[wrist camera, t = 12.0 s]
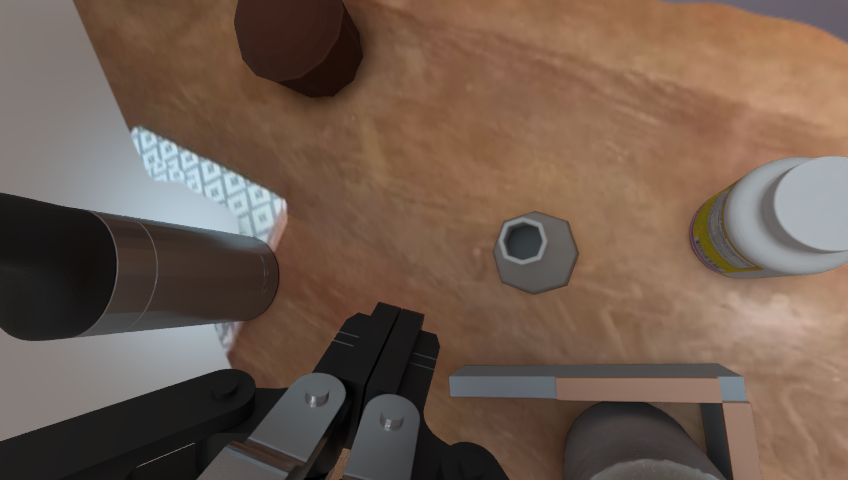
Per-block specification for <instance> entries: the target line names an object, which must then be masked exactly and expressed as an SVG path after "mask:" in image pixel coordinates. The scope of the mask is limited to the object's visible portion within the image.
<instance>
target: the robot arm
mask: <svg viewBox="0 0 848 480" xmlns="http://www.w3.org/2000/svg"><path fill="white" fill-rule="evenodd" d="M277 285H278V266H277V263H276V259H275V257H274V255H273V253H272V251H271V249H270V248H269V247H268V246H267V245H266V244H265V243H264V242H262V241H261V240H259V239H257V238H254V237H250V236H244V235H238V234H232V233H226V232H221V231H215V230H208V229H202V228H196V227H189V226H184V225H178V224H171V223H165V222H159V221H153V220H147V219H140V218H134V217H128V216H121V215H114V214H108V213H102V212H96V211H90V210H83V209H77V208H70V207H65V206H60V205H55V204H51V203H46V202H42V201H37V200H33V199H29V198H25V197H19V196H15V195H10V194H5V193H0V328H1V329H3V330H4V331H5V332H6V333H8V334H9V335H11V336H13V337H15V338H18V339H21V340H27V341H44V340H55V339H65V338H75V337H85V336H95V335H105V334H113V333H123V332H134V331H143V330H154V329H163V328H174V327H184V326H193V325H203V324H216V323H226V322H236V321H246V320H250V319H253V318H255V317H257V316H258V315H260V314H261V313H262V312H263V311H265V310H266V309H267V307H268V306H269V305H270V303H271V302H272V300H273V297H274V295H275V293H276V289H277ZM424 316H425V314H421V313H418V312H414V311H411V310H407V309H402V310H401V308H400V307H396V306H392V305H389V304H385V303H382V302H378V304H377V306H376V307H375V309H374V311H373V313H372V314H371V316H369V315H365V314H362V313H357V314H355V315H354V316H352V317H350V318H349V319H347V320H346V321H345V323H344V324H343V326H342V327H341V329H340V330H339V333H338V334H337V335H336V337H335V338H334V340H333V341H332V343H331V344H330V346H329V347H328V349H327V350H326V352H325V354H324V355H323V357H322V358H321V360H320V361H319V363H318V364H317V366H316V367H315V369H314V371H313V372H312V373H311V374H307V375H304V376H302V377H300V378H298V379H297V380H296V381H295V382H294V383H293V384H292V385H291V386H290V387H288V388H282V389H270V388H256V386H255V381H254V379H253V378H252V377H251V376H250V375H249V374H248V373H246V372H244V371H241V370H237V369H223V370H218V371H214V372H211V373H208V374H205V375H202V376H199V377H196V378H193V379H190V380H187V381H184V382H181V383H178V384H175V385H172V386H168V387H165V388H163V389H160V390H156V391H153V392H150V393H147V394H144V395H141V396H138V397H135V398H132V399H129V400H126V401H123V402H120V403H116V404H113V405H110V406H107V407H104V408H101V409H98V410H95V411H92V412H89V413H86V414H83V415H80V416H77V417H74V418H71V419H68V420H64V421H61V422H58V423H56V424H52V425H49V426H46V427H43V428H40V429H37V430H34V431H31V432H28V433H25V434H22V435H19V436H15V437H12V438H10V439H6V440H3V441H0V480H330V479H331V477H332V475H333V473H334V468H335V465H336V463H337V461H338V459H339V456H340V454H341V452H342V450H343V448H346V449H350V450H351V452H350V455H349V458H348V461H347V465H346V468H345V471H344V474H343V476H342V479H339V480H509V478H508V477H507V475H506V474H505V472H504V471H503V469H502V468H501V466H500V465H499V463H498V462H497V460H496V459H495V457H494V456H493V455H492V454H491V453H490V452H489V451H488V450H486V449H485V448H483V447H482V446H480V445H477V444H475V443H471V442H459V443H455V444H453V445H451V446H450V445H448V444H447V443H445V442H444V441H442V440H440V439H439V438H438V437H436V436H435V435H434V434H433V433H432V432H431V430H430V429H429V428H428V426H427V424H426V422H425V420H424V413H423V411H424V406H425V402H426V399H427V395H428V391H429V387H430V384H431V380H432V376H433V372H434V368H435V364H436V361H437V357H438V353H439V349H440V345H439V342H438V338H437V335H436V334H432V333H429V332H425V331H422V330H421V329H422V325H423V321H424ZM192 443H194V444H192ZM190 444H192V445H190ZM187 445H190V446H187ZM185 446H187V447H185ZM182 447H185V448H182ZM180 448H182V449H180ZM178 449H180V450H178ZM175 450H178V451H175ZM173 451H175V452H173ZM170 452H173V453H170ZM168 453H170V454H168ZM166 454H168V455H166ZM163 455H166V456H163ZM161 456H163V457H161ZM158 457H161V458H159V459H156V458H158ZM154 459H156V460H154ZM151 460H154V461H152V462H149V461H151ZM146 462H149V463H147V464H145V465H142V466H139V465H141V464H144V463H146ZM138 466H139V467H138ZM136 467H137V468H136Z"/></svg>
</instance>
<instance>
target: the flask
mask: <svg viewBox="0 0 848 480" xmlns="http://www.w3.org/2000/svg"><path fill="white" fill-rule="evenodd" d="M493 254H494V258H495V261H496V265H497V268H498V271H499V275H500V278H501V281H502V283H505V284H507V285H510V286H512V287H515V288H518V289H520V290H523V291H525V292H528V293H531V294H533V295H534V294H537V293H541V292H545V291H548V290H552V289H556V288H560V287H563V286H567V284H568V281H569V279H570V276H571V273H572V271H573V268H574V265H575V263H576V260H577V257H578V254H579V252H578V249H577V246H576V243H575V241H574V238H573V235H572V232H571V229H570V226H569V223H568V221H565V220H562V219H559V218H556V217H553V216H549V215H546V214H543V213H540V212H537V211H534V212H531V213H528V214H525V215H522V216H519V217H515V218H512V219H509V220H506V221H504V222H503V225H502V227H501V230H500V233H499V235H498V238H497V241H496V244H495V246H494V249H493Z"/></svg>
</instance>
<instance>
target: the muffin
mask: <svg viewBox="0 0 848 480" xmlns="http://www.w3.org/2000/svg"><path fill="white" fill-rule="evenodd" d="M234 25H235V30H236V35H237V39H238V43H239V48H240V51H241V54H242V59H243V60H244V61H245V63H246V64H247V65H248V66H249V67H250V69H251V70H252V71H253V72H254V73H255V75H256V76H259V77H262V78H265V79H268V80H272V81H274V82H277V83H279V84H281V85H283V86H286V87H288V88H290V89H293V90H295V91H297V92H300V93H302V94H304V95H306V96H309V97H317V96H334V95H335V94H336V93H337V92H338V91H339V90H341V89H342V88H343V87H344V86H346V85H347V84H349V83H350V82H352V81H353V80H354V77H355V74H356V71H357V68H358V66H359V64H360V62H361V60H362V58H363V54H362V50H361V47H360V40H359V32H358V31H357V29H356V27H355V25H354V23H353V21H352V19H351V17H350V15H349V14H348V12H347V10H346V8H345V6H344V4H343V2H342V0H239V1H238V4H237V9H236V14H235V19H234Z"/></svg>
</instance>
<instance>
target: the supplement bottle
mask: <svg viewBox="0 0 848 480" xmlns="http://www.w3.org/2000/svg"><path fill="white" fill-rule="evenodd" d="M690 238H691V243H692V246H693V249H694V251H695V253H696V254H697V256H698V257H699V258H700V260H701V261H702V262H703V263H704V264H705V265H707V266H708V267H709V268H711V269H712V270H714V271H716V272H718V273H720V274H722V275H725V276H729V277H734V278H765V277H779V276H794V275H809V274H817V273H822V272H826V271H829V270H832V269H835V268H837V267H839V266H841V265H843V264H845V263H847V262H848V158H847V157H839V156H828V157H819V158H806V157H793V158H785V159H780V160H776V161H772V162H769V163H767V164H764V165H762V166H760V167H758V168H756V169H754V170H753V171H751V172H750V173H748V174H747V175H745V176H744V177H742V178H741V179H739V180H738V181H736V182H735V183H733V184H732V185H730V186H729V187H727V188H726V189H724V190H723V191H721V192H720V193H718V194H717V195H716V196H714V197H713V198H711V199H710V200H708V201H707V202H706V203H705V204H703V205H702V206H701V208H700V209H699V210H698V211H697V213H696V214H695V216H694V218H693V220H692V224H691V229H690Z"/></svg>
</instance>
